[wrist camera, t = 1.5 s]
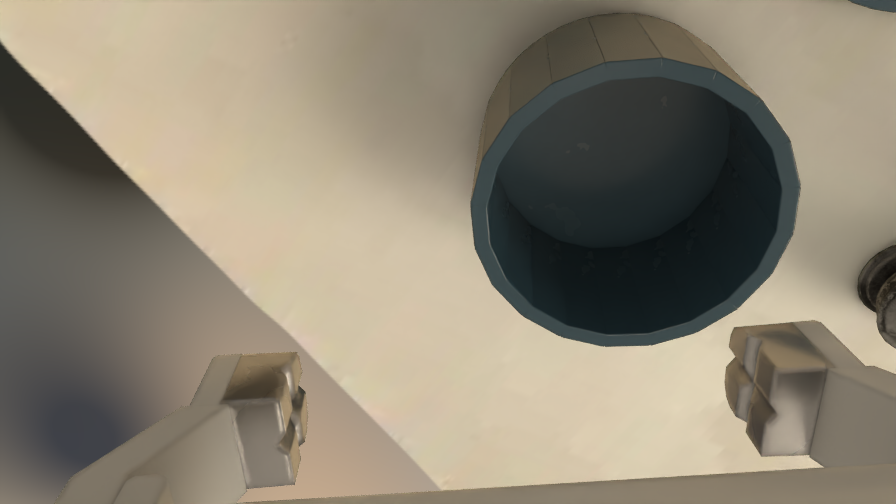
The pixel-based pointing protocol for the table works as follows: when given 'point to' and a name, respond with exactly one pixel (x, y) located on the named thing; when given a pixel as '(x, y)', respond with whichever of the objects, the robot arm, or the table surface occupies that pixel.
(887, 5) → the tin lid
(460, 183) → the table surface
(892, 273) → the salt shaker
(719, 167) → the tin
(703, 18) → the table surface
